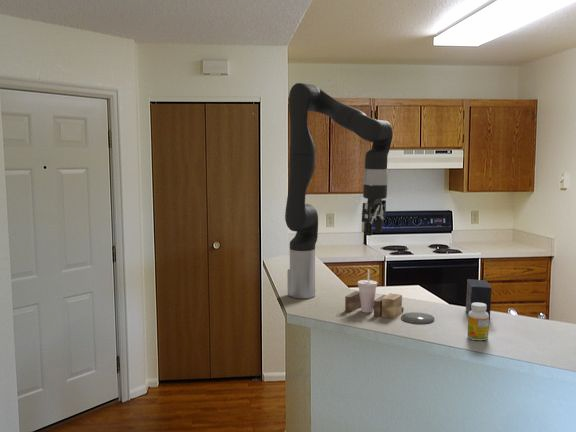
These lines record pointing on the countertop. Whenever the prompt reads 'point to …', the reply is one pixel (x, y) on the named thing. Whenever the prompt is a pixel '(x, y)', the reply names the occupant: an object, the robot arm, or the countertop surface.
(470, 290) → the small box
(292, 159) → the robot arm
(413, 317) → the coaster
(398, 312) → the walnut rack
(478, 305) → the supplement bottle
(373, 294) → the smoothie
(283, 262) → the countertop surface
